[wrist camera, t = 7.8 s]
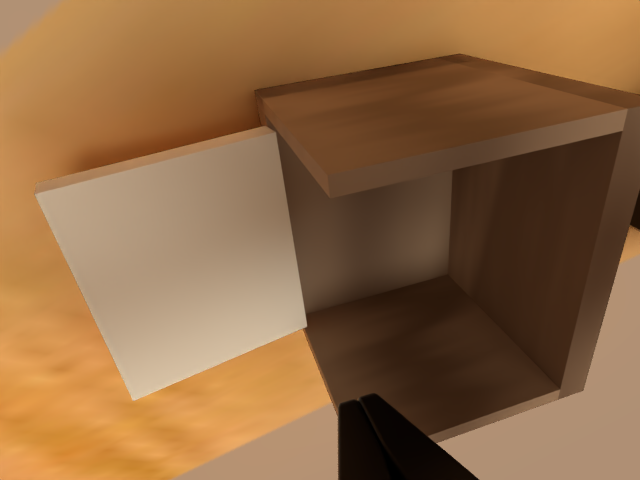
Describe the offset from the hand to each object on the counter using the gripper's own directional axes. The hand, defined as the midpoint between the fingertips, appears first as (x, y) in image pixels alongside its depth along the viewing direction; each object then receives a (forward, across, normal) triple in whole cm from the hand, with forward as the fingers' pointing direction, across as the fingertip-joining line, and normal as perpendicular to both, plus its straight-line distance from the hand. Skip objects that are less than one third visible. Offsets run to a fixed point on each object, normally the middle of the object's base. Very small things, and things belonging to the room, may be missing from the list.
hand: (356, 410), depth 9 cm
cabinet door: (+9, 0, 0) cm, 9 cm away
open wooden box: (+10, -4, 0) cm, 11 cm away
